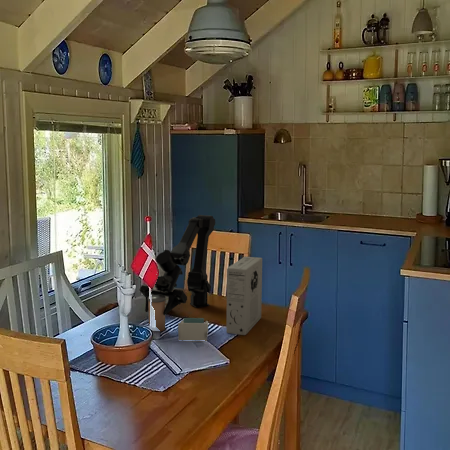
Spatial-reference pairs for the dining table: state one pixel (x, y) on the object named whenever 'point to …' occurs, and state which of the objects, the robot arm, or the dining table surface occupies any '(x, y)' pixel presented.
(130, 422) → the dining table surface
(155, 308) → the grey brown rounded piece
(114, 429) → the dining table surface
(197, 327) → the pusher lane
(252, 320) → the cereal box
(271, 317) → the dining table surface
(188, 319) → the pusher paddle
